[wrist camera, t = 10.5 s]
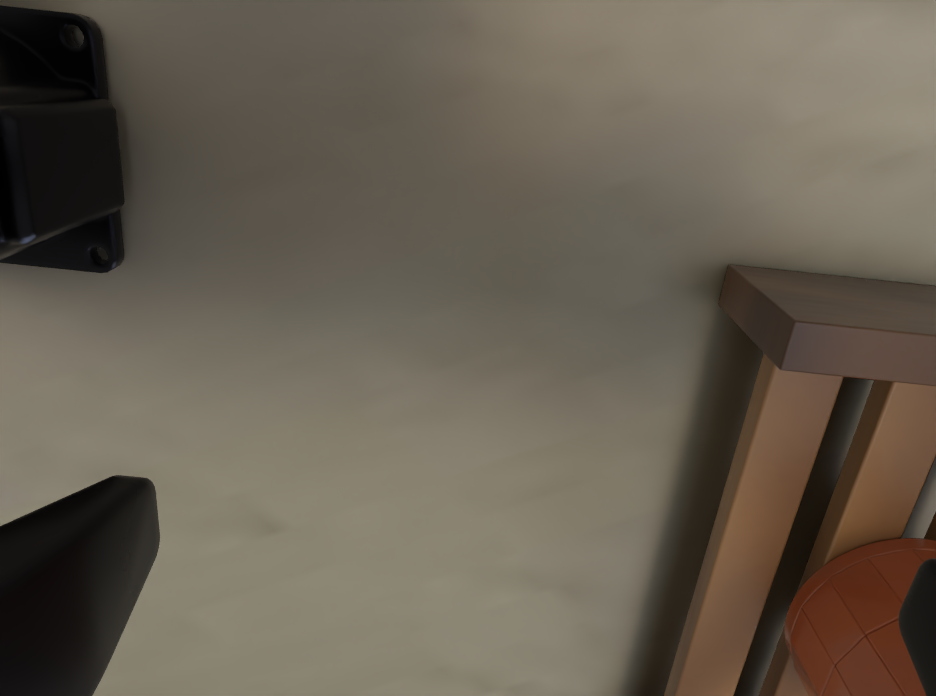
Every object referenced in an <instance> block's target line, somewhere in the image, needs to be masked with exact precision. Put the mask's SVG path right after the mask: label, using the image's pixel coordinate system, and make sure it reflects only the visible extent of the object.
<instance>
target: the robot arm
mask: <svg viewBox="0 0 936 696" xmlns="http://www.w3.org/2000/svg"><path fill="white" fill-rule="evenodd" d="M76 26H77V27H78V28H79V29H80V30H81V31H82V33H83V36H84V40H83V44H82V45H81V46H78V45H77V44H76V43H75V42H74V40H73V37H72V31H73V29H74V28H75V27H76ZM123 204H124V191H123V181H122V170H121V160H120V150H119V139H118V129H117V119H116V111H115V109H114V107H113V106H112V105H111V104H110V102H109V99H108V89H107V79H106V69H105V59H104V49H103V39H102V35H101V32H100V29H99V28H98V26H97V25H96V23H95V22H94V21H92V20H91V19H90V18H89V17H86V16H83V15H80V14H72V13H63V12H54V11H44V10H35V9H26V8H16V7H7V6H0V263H10V264H19V265H29V266H39V267H48V268H58V269H67V270H77V271H87V272H96V273H105V272H109V271H111V270H112V269H114V268H116V267H118V266H120V264H121V263H122V261H123V258H124V249H123V239H122V229H121V219H120V209H119V208H120V207H121V206H122V205H123ZM97 247H101V248H103V249H104V250H105V251H106V253H107V255H108V259H107V261H106V260H104V259H102V258H101V257H100V256H99V255H98V253H97ZM159 542H160V532H159V521H158V511H157V500H156V491H155V487H154V484H153V482H152V481H150V480H149V479H148V478H141V477H132V476H122V475H116V476H112V477H109V478H107V479H105V480H102V481H100V482H98V483H96V484H94V485H91V486H89V487H87V488H85V489H82V490H80V491H78V492H76V493H73V494H71V495H69V496H67V497H65V498H62V499H60V500H58V501H56V502H53V503H51V504H49V505H47V506H44V507H42V508H40V509H38V510H36V511H33V512H31V513H29V514H27V515H24V516H22V517H20V518H18V519H15V520H13V521H11V522H9V523H7V524H4V525H2V526H0V696H92V695H93V693H94V691H95V690H96V688H97V686H98V684H99V682H100V680H101V678H102V676H103V674H104V672H105V670H106V668H107V666H108V664H109V662H110V659H111V657H112V655H113V653H114V651H115V648H116V646H117V644H118V642H119V639H120V637H121V635H122V633H123V630H124V628H125V626H126V624H127V621H128V619H129V617H130V615H131V612H132V610H133V608H134V606H135V603H136V601H137V599H138V597H139V594H140V592H141V590H142V588H143V585H144V583H145V581H146V579H147V576H148V574H149V572H150V570H151V567H152V565H153V563H154V561H155V558H156V556H157V552H158V549H159ZM899 628H900V632H901V636H902V638H903V640H904V643H905V645H906V648H907V650H908V653H909V655H910V657H911V660H912V662H913V665H914V667H915V670H916V672H917V674H918V677H919V679H920V682H921V684H922V687H923V689H924V691H925V694H926V696H936V558H931V559H927V560H925V561H924V562H923V563H922V564H921V565H920V567H919V568H918V570H917V573H916V575H915V577H914V579H913V582H912V584H911V586H910V588H909V590H908V593H907V595H906V597H905V599H904V602H903V604H902V606H901V609H900V612H899Z"/></svg>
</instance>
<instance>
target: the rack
mask: <svg viewBox="0 0 936 696" xmlns="http://www.w3.org/2000/svg"><path fill="white" fill-rule="evenodd" d="M718 304H719V306H720V307H721V308H722V309H723V310H724V311H725V312H726V313H727V314H728V315H729V317H730V318H731V319H732V320H733V321H734V322H735V323H736V324H737V325H738V326H739V327H740V328H741V329H742V330H743V331H744V332H745V334H746V335H747V336H748V337H749V338H750V339H751V340H752V341H753V342H754V343H755V344H756V345H757V346H758V347H759V348H760V349H761V351H762V352H763V353H764V354H763V358H762V361H761V365H760V368H759V371H758V375H757V378H756V382H755V385H754V389H753V392H752V395H751V399H750V402H749V406H748V409H747V413H746V416H745V419H744V423H743V426H742V430H741V433H740V437H739V440H738V443H737V447H736V450H735V454H734V457H733V461H732V464H731V467H730V471H729V474H728V478H727V481H726V485H725V488H724V491H723V495H722V498H721V502H720V505H719V509H718V512H717V515H716V519H715V522H714V526H713V529H712V533H711V536H710V539H709V543H708V546H707V550H706V553H705V557H704V560H703V563H702V567H701V570H700V574H699V577H698V581H697V584H696V587H695V591H694V594H693V598H692V601H691V605H690V608H689V611H688V615H687V618H686V622H685V625H684V629H683V632H682V635H681V639H680V642H679V646H678V649H677V653H676V656H675V659H674V663H673V666H672V670H671V673H670V677H669V680H668V683H667V687H666V690H665V694H664V696H733V695H734V692H735V690H736V687H737V684H738V681H739V678H740V675H741V672H742V669H743V666H744V664H745V661H746V658H747V655H748V652H749V649H750V646H751V643H752V640H753V638H754V635H755V632H756V629H757V626H758V623H759V620H760V617H761V615H762V612H763V609H764V606H765V603H766V600H767V597H768V594H769V591H770V589H771V586H772V583H773V580H774V577H775V574H776V571H777V568H778V565H779V563H780V560H781V557H782V554H783V551H784V548H785V545H786V542H787V540H788V537H789V534H790V531H791V528H792V525H793V522H794V519H795V516H796V514H797V511H798V508H799V505H800V502H801V499H802V496H803V493H804V490H805V488H806V485H807V482H808V479H809V476H810V473H811V470H812V467H813V465H814V462H815V459H816V456H817V453H818V450H819V447H820V444H821V441H822V439H823V436H824V433H825V430H826V427H827V424H828V421H829V418H830V415H831V413H832V410H833V407H834V404H835V401H836V398H837V395H838V392H839V390H840V387H841V384H842V381H843V378H844V377H851V378H860V379H870V380H874V383H873V385H872V388H871V391H870V394H869V396H868V399H867V402H866V404H865V407H864V410H863V413H862V415H861V418H860V421H859V424H858V426H857V429H856V432H855V434H854V437H853V440H852V443H851V445H850V448H849V451H848V454H847V456H846V459H845V462H844V464H843V467H842V470H841V473H840V475H839V478H838V481H837V484H836V486H835V489H834V492H833V494H832V497H831V500H830V503H829V505H828V508H827V511H826V514H825V516H824V519H823V522H822V524H821V527H820V530H819V533H818V535H817V538H816V541H815V544H814V546H813V549H812V552H811V554H810V557H809V560H808V563H807V565H806V568H805V571H804V574H803V576H802V579H801V582H800V584H799V587H798V590H797V592H798V591H799V589H800V588H801V587H802V586H803V584H804V583H805V582H806V581H807V580H808V579H809V578H810V577H811V576H812V575H813V574H814V573H815V572H816V571H817V570H819V569H820V568H821V567H823V566H824V565H825V564H827V563H828V562H830V561H832V560H833V559H835V558H837V557H838V556H840V555H842V554H844V553H846V552H848V551H851V550H853V549H856V548H858V547H861V546H864V545H867V544H871V543H875V542H879V541H884V540H890V539H900V538H901V536H902V534H903V532H904V529H905V527H906V525H907V522H908V520H909V518H910V515H911V513H912V510H913V508H914V506H915V503H916V501H917V499H918V496H919V494H920V492H921V489H922V487H923V485H924V482H925V480H926V478H927V475H928V473H929V471H930V468H931V466H932V464H933V461H934V459H935V456H936V286H928V285H918V284H909V283H899V282H890V281H880V280H871V279H861V278H851V277H842V276H832V275H823V274H813V273H804V272H794V271H785V270H775V269H766V268H756V267H747V266H737V265H728V268H727V272H726V276H725V280H724V284H723V288H722V292H721V296H720V299H719V303H718ZM924 539H928V540H935V541H936V513H935V515H934V517H933V519H932V522H931V524H930V526H929V528H928V531H927V533H926V535H925V537H924ZM796 594H797V593H796ZM784 629H785V625H784V628H783V631H782V634H781V636H780V639H779V642H778V644H777V647H776V650H775V653H774V655H773V658H772V661H771V664H770V666H769V669H768V672H767V674H766V677H765V680H764V683H763V685H762V688H761V691H760V694H759V696H808V694H807V692H806V690H805V688H804V686H803V684H802V682H801V680H800V678H799V676H798V674H797V672H796V670H795V668H794V663H793V660H792V658H791V656H790V654H789V652H788V650H787V646H786V642H785V633H784Z"/></svg>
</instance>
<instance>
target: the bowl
mask: <svg viewBox="0 0 936 696" xmlns="http://www.w3.org/2000/svg"><path fill="white" fill-rule="evenodd" d="M931 558H936V541H935V540H928V539H920V538H900V539H890V540H884V541H879V542H875V543H871V544H867V545H864V546H861V547H858V548H856V549H853V550H851V551H848V552H846V553H844V554H842V555H840V556H838V557H837V558H835V559H833V560H832V561H830V562H828V563H827V564H825V565H824V566H823V567H821V568H820V569H819V570H817V571H816V572H815V573H814V574H813V575H812V576H811V577H810V578H809V579H808V580H807V581H806V582H805V583H804V584H803V586H802V587H801V588H800V589H799V591H798V592H797V594H796V595H795V597H794V598H793V600H792V602H791V605H790V607H789V609H788V612H787V616H786V619H785V629H784V633H785V642H786V646H787V650H788V652H789V654H790V656H791V658H792V660H793V663H794V668H795V670H796V672H797V674H798V676H799V678H800V680H801V682H802V684H803V686H804V688H805V690H806V692H807V694H808V696H926V694H925V691H924V689H923V687H922V684H921V682H920V679H919V677H918V674H917V672H916V670H915V667H914V665H913V662H912V660H911V657H910V655H909V653H908V650H907V648H906V645H905V643H904V640H903V638H902V636H901V632H900V628H899V612H900V609H901V606H902V604H903V602H904V599H905V597H906V595H907V593H908V590H909V588H910V586H911V584H912V582H913V579H914V577H915V575H916V573H917V570H918V568H919V567H920V565H921V564H922V563H923V562H924V561H925V560H927V559H931Z"/></svg>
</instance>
